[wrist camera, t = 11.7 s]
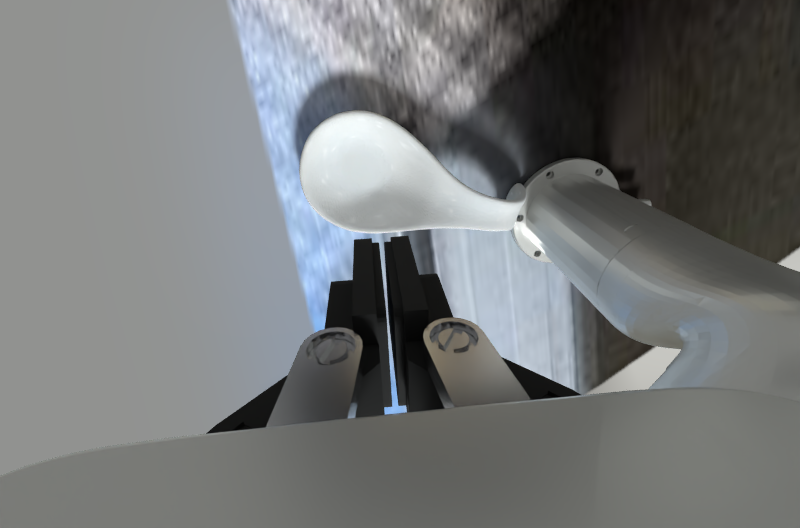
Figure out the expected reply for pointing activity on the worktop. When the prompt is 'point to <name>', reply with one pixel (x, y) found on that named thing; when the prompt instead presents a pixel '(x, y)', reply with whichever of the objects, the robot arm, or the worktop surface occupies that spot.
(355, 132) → the spoon rest
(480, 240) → the worktop surface
